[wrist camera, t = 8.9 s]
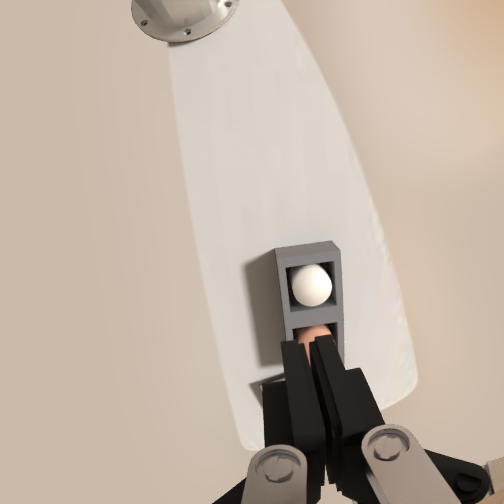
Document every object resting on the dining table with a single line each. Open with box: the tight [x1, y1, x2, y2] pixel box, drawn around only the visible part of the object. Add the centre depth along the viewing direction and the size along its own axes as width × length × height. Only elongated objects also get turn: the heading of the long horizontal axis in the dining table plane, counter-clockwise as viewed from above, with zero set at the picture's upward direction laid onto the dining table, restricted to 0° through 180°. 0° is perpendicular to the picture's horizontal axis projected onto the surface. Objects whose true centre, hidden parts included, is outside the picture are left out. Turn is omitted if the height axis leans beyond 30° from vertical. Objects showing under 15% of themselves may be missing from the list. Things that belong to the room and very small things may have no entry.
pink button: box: [296, 324, 335, 364], centre depth 35 cm, size 4×4×4 cm
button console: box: [275, 241, 344, 365], centre depth 36 cm, size 14×6×4 cm, turn 8°
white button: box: [289, 263, 332, 306], centre depth 34 cm, size 4×4×4 cm
